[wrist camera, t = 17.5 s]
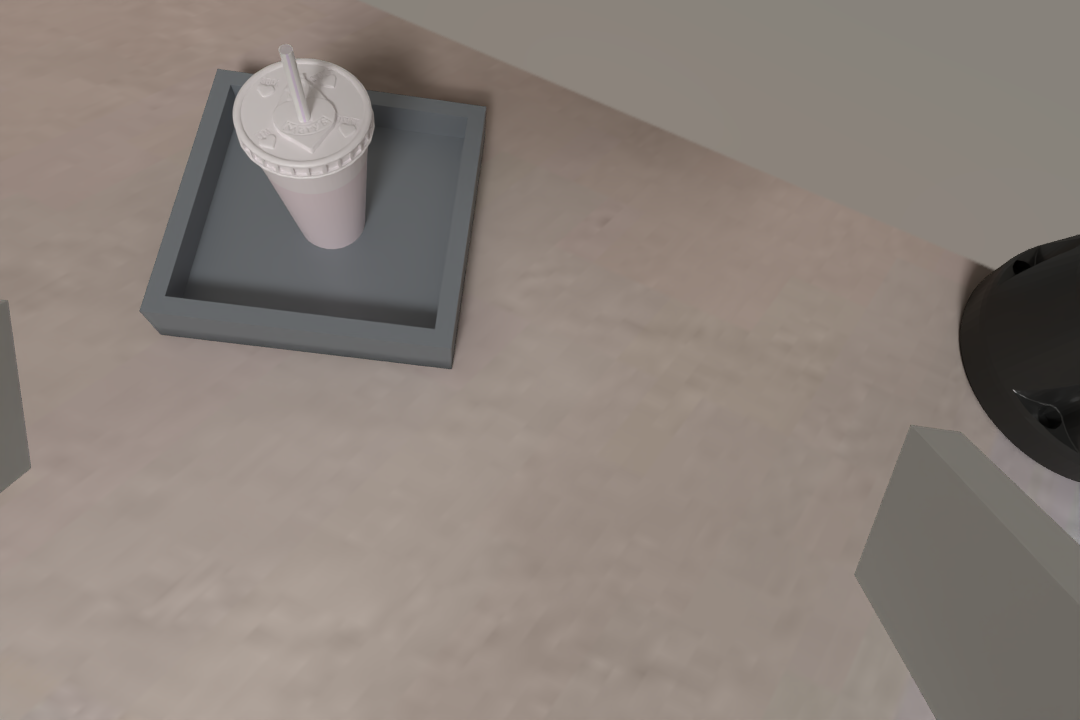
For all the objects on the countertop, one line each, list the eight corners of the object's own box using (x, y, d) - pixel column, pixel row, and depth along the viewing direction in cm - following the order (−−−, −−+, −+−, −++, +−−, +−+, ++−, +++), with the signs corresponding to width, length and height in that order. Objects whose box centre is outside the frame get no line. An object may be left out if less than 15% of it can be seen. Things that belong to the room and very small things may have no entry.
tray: (484, 138, 48) (486, 106, 46) (451, 369, 42) (451, 348, 40) (231, 103, 47) (217, 68, 45) (160, 334, 41) (139, 310, 39)
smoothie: (285, 279, 42) (212, 112, 29) (267, 184, 44) (192, -11, 31) (398, 258, 43) (377, 89, 31) (376, 167, 46) (347, -28, 33)
